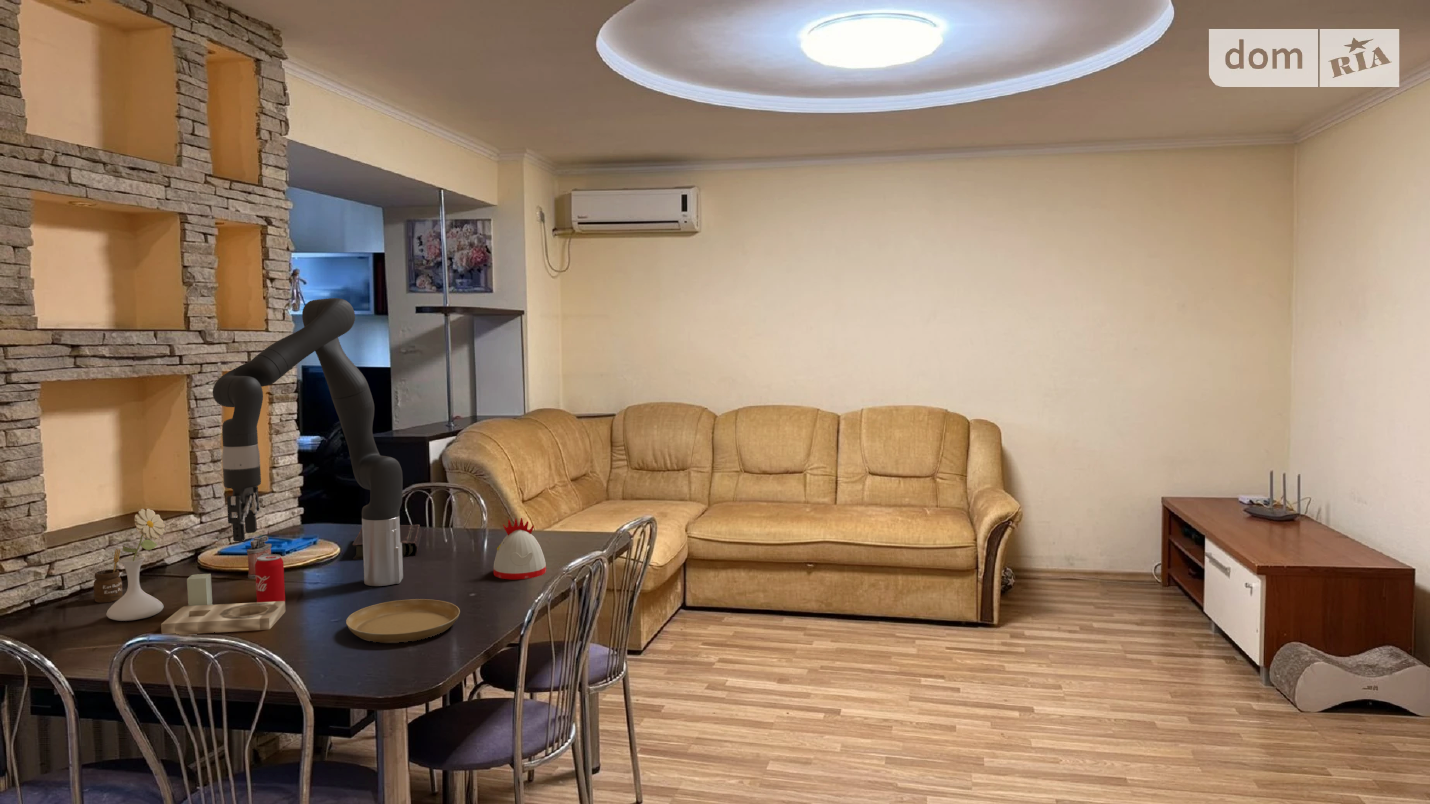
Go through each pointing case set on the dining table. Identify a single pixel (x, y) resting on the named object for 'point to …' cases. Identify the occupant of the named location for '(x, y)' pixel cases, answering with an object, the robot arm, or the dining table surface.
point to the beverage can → (270, 578)
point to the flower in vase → (135, 599)
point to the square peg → (199, 590)
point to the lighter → (257, 553)
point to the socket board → (224, 618)
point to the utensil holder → (108, 583)
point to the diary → (407, 538)
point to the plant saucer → (403, 620)
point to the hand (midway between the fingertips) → (245, 536)
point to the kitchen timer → (519, 554)
